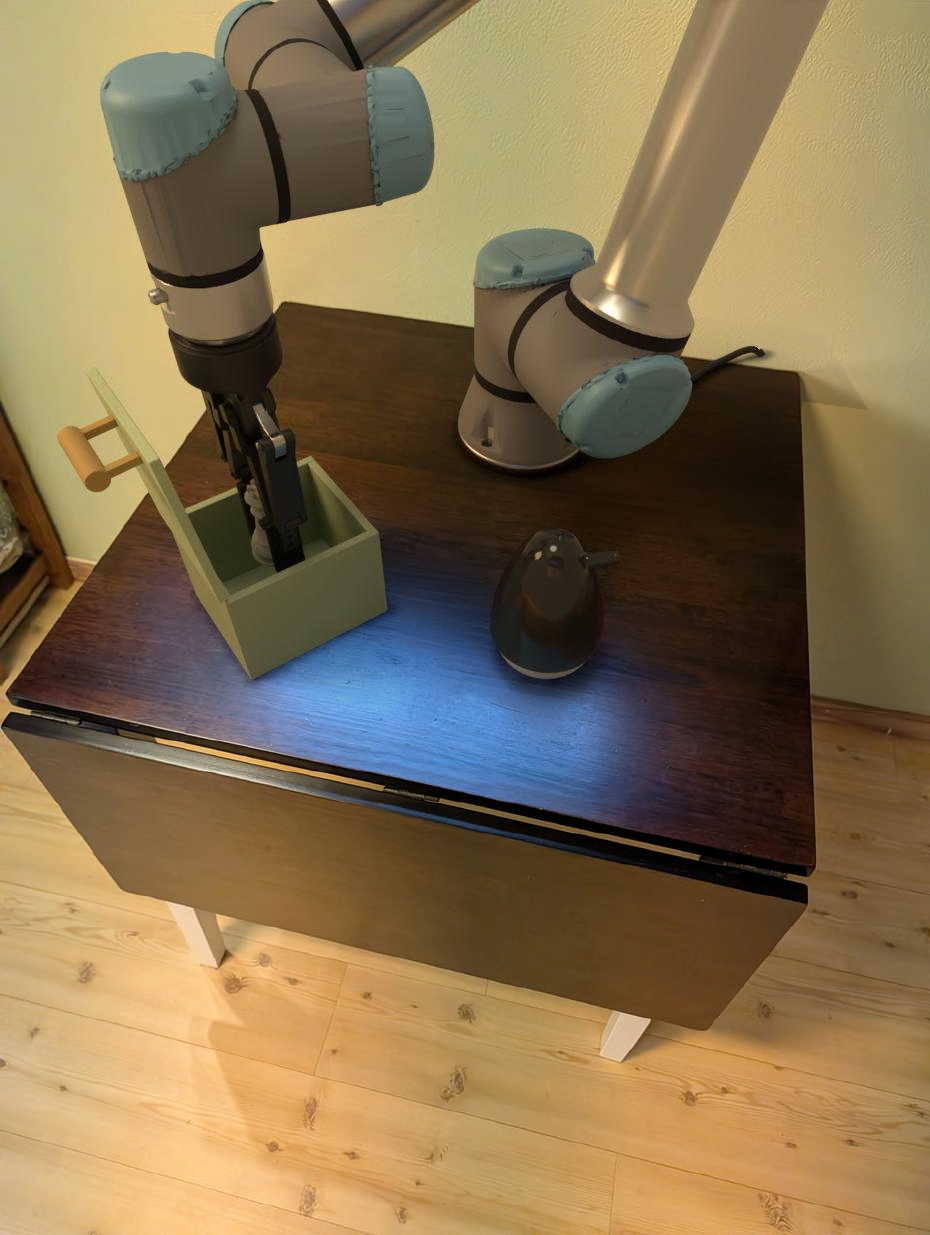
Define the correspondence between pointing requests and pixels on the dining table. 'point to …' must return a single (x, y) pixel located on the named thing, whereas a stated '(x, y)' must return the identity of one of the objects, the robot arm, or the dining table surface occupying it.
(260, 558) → the rook chess piece
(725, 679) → the dining table surface
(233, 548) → the chest
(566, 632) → the pump dispenser
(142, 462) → the lid
